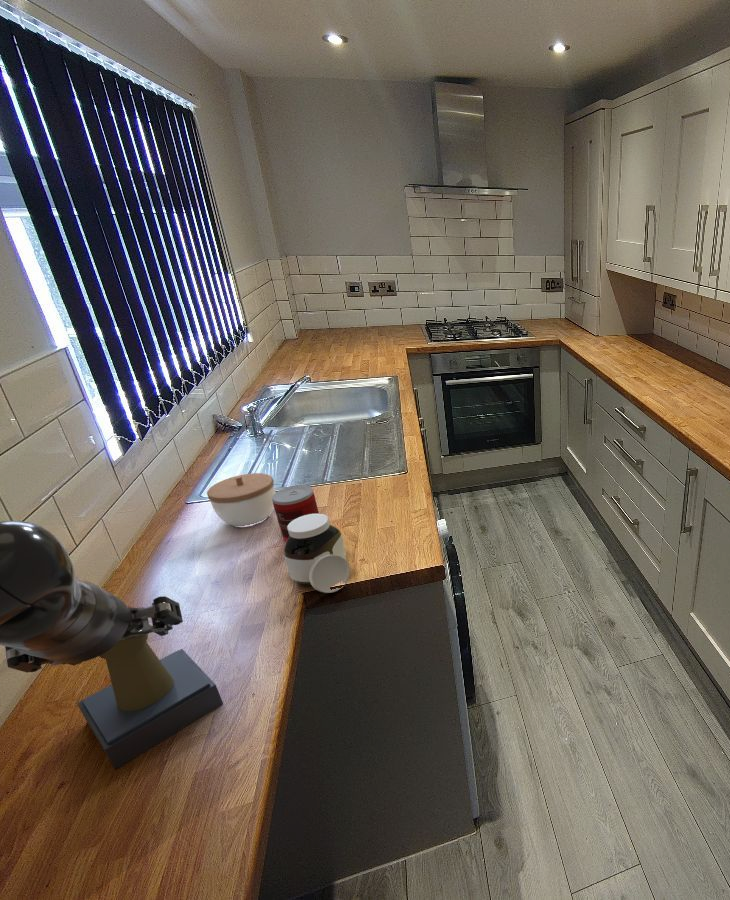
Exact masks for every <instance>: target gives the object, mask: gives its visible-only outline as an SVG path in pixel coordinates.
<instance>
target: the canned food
mask: <svg viewBox="0 0 730 900" xmlns="http://www.w3.org/2000/svg"><path fill="white" fill-rule="evenodd" d="M272 502H273V505H274V512H275V515H276V519H277V523H278V525H279V530H280V533H281V536H282V539H283V542H284V544H286V541H287V539H288V537H289V536H290V535H289V532H288V529H287V526H288V524H289V523H290V522H291V521H293V520H294V519H296V518H299V517H301V516H304V515H308V514H320V512H319V508H318V504H317V500H316V496H315V492H314V490H313V487H312V486H310V485H306V484H299V485H298V484H297V485H292V486H288V487H284V488H282V489H280V490H278V491H276V493H275V494H274V495H273V496H272Z"/></svg>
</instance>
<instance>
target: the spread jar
mask: <svg viewBox="0 0 730 900" xmlns="http://www.w3.org/2000/svg"><path fill="white" fill-rule="evenodd" d="M287 529H288V532H289V535H290V536H289V537H288V539H287V541H286V543H284V547H283V557H284V562H285V564H286V568H287V569H286V570H287V572H288V575H289V577H290V578H291V579H292V580H293V581H294V582H296V583H298V584H302V585H306V586H311V587H312V588H313V589H314V590H315V591H317V592H320V593H324V594H329V593H330V594H331V593H336V592H338V591H339V590H341V589H343V588H344V586H345V585H346V584H347V583H348V581H349V579H350V575H351V568H350V564H349V562H348V561H347V551H346V546H345V542H344V537H343V535H342V532H341V530H340V529H339V528H338V527H336V526H334V525H332V524H330V520H329V517H328V515H326V514H324V513H319V514H308V515H304V516H301V517H299V518H296V519H294V520H293V521H291V522H290V523H289V524H288V526H287ZM341 581H343V583H345V584H344V586H342V587H341V588H336V589H332V590H331V589H330V587H331V586H333V585H335V584H337V583H339V582H341Z"/></svg>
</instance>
